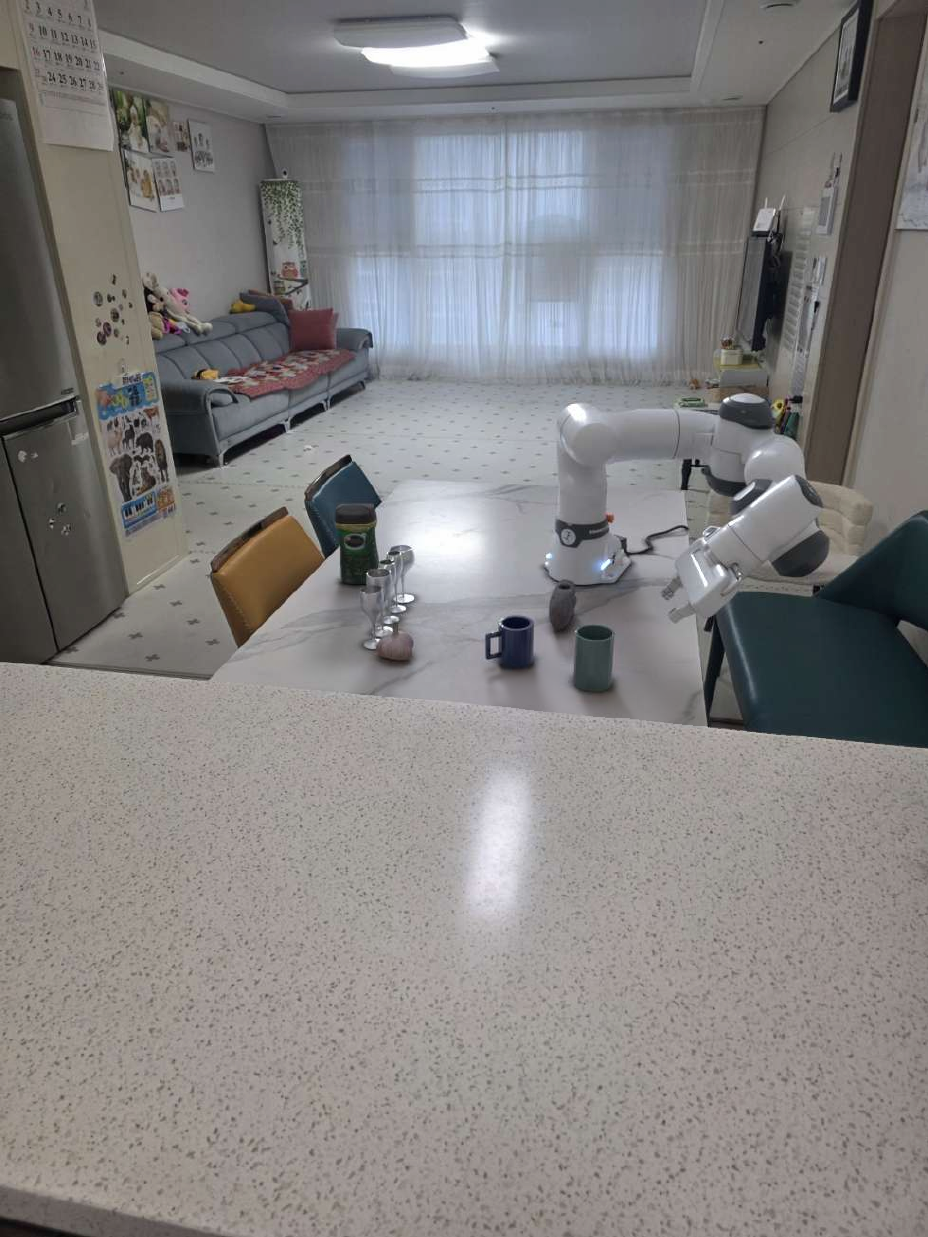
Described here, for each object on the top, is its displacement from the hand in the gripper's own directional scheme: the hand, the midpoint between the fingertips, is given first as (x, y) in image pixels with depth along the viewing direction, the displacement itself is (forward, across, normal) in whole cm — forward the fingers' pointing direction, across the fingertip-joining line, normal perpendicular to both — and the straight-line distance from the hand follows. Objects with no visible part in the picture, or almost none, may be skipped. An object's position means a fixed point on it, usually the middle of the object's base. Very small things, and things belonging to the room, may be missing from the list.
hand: (666, 607), depth 142 cm
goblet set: (+48, +25, +27) cm, 61 cm away
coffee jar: (+56, +47, +34) cm, 81 cm away
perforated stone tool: (+23, +26, +1) cm, 34 cm away
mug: (+30, +7, +9) cm, 32 cm away
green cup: (+19, 0, -2) cm, 19 cm away
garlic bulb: (+46, +8, +24) cm, 52 cm away
